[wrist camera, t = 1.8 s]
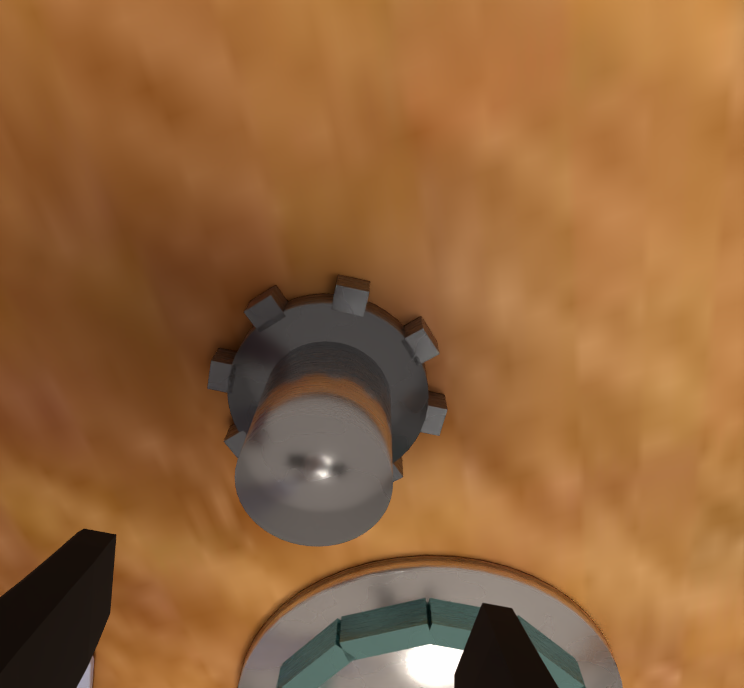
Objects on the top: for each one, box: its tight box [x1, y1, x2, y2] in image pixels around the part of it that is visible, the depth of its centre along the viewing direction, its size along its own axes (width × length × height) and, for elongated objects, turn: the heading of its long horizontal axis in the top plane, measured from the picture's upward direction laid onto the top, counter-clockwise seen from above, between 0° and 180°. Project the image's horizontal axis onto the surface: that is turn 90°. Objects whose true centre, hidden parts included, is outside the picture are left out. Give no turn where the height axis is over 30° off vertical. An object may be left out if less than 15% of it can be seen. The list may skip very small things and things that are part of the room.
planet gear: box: [207, 275, 447, 546], centre depth 19 cm, size 8×8×6 cm
